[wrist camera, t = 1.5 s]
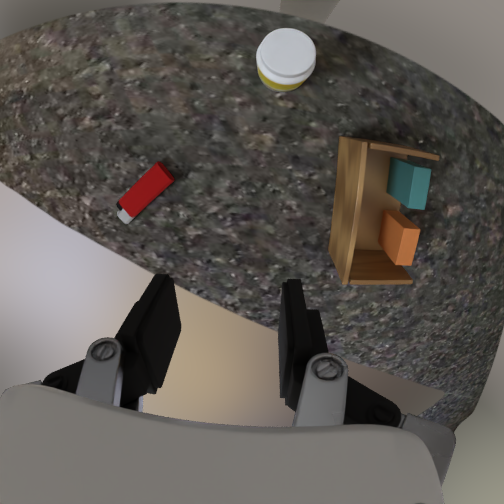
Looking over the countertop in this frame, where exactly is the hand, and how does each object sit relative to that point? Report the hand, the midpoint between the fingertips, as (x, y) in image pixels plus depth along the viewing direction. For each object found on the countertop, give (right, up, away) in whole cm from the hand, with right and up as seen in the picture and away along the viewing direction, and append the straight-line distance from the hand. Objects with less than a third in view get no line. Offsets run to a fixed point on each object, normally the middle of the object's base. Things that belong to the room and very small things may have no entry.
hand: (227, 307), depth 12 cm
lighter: (-11, +9, +18) cm, 23 cm away
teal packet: (+17, +11, +15) cm, 25 cm away
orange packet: (+17, +5, +18) cm, 25 cm away
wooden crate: (+14, +8, +17) cm, 23 cm away
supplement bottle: (+4, +20, +12) cm, 24 cm away
